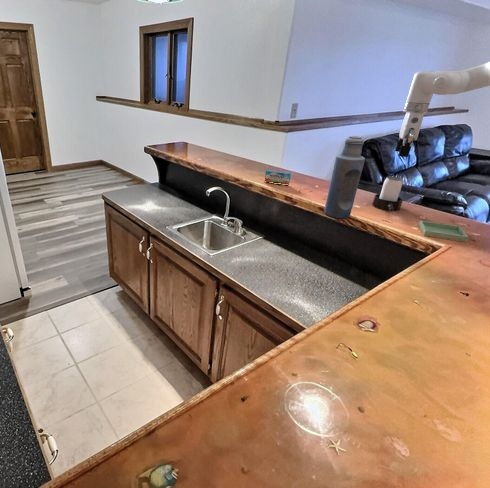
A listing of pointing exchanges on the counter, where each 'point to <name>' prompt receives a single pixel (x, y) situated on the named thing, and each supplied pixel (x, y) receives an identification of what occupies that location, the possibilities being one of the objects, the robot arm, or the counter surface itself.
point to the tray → (443, 231)
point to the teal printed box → (277, 177)
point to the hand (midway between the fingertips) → (401, 153)
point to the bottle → (345, 179)
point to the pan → (387, 203)
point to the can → (391, 188)
